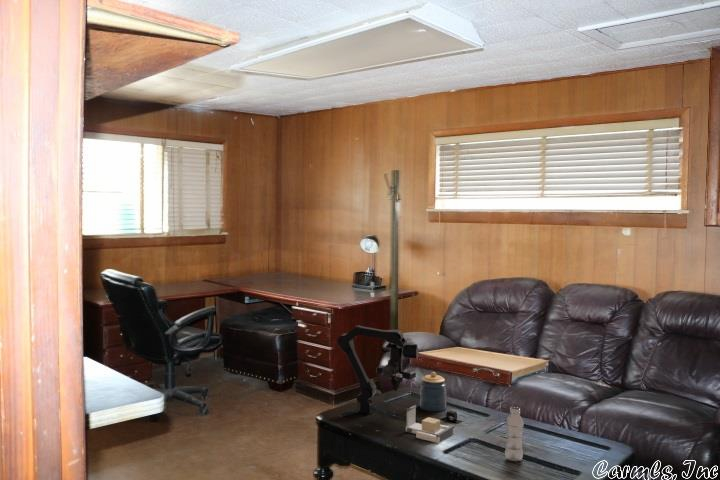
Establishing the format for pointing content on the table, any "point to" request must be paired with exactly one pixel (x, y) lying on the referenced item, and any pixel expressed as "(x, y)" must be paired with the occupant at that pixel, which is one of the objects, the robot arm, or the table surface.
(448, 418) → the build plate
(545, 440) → the table surface
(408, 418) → the trolley
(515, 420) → the plastic bottle
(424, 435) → the bay
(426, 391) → the canister
